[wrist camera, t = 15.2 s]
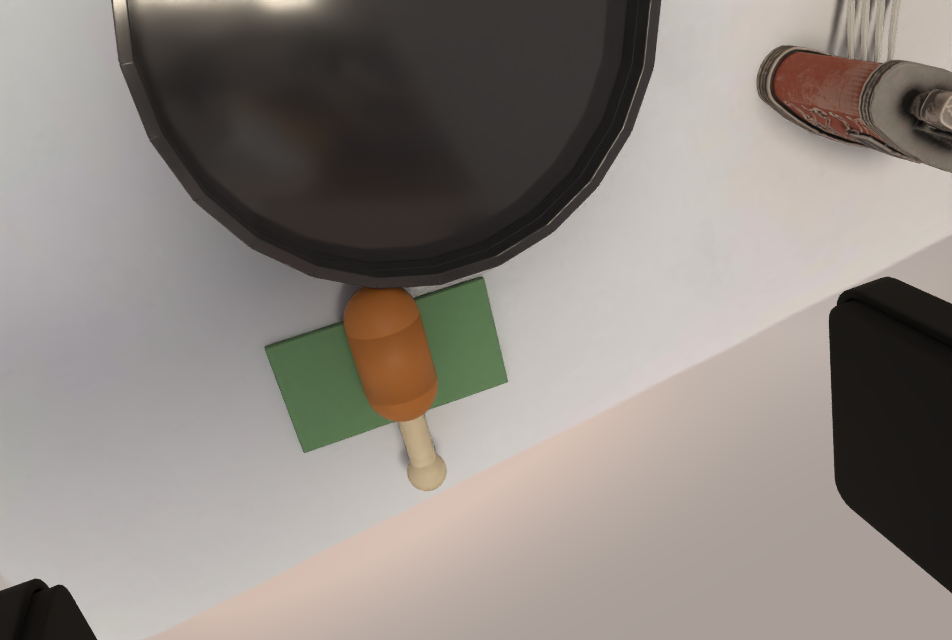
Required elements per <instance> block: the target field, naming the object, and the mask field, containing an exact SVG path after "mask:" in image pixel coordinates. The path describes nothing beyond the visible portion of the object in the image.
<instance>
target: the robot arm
mask: <svg viewBox="0 0 952 640" xmlns="http://www.w3.org/2000/svg"><path fill="white" fill-rule="evenodd" d="M829 339H830V365H831V390H832V418H833V445H834V470H835V482H836V486H837V489H838V491H839V493H840V495H841V497H842V499H843V500H844V501H845V503H846V504H847V505H848V506H849V507H850V508H851V509H852V510H854V511H855V512H856V513H857V514H858V515H859V516H860V517H862V518H863V519H864V520H865V521H867V522H868V523H869V524H870V525H871V526H873V527H874V528H875V529H876V530H877V531H878V532H880V533H881V534H882V535H883V536H884V537H886V538H887V539H888V540H889V541H890V542H892V543H893V544H894V545H895V546H896V547H898V548H899V549H900V550H901V551H902V552H904V553H905V554H906V555H907V556H908V557H909V558H911V559H912V560H913V561H914V562H915V563H916V564H918V565H919V566H920V567H921V568H922V569H924V570H925V571H926V572H927V573H929V574H930V575H931V576H932V577H933V578H934V579H936V580H937V581H938V582H939V583H940V584H941V585H943V586H944V587H945V588H946V589H947V590H949V591H950V592H951V593H952V304H951V303H949V302H946V301H944V300H942V299H940V298H938V297H935V296H933V295H931V294H929V293H926V292H924V291H922V290H920V289H917V288H915V287H913V286H911V285H909V284H906V283H904V282H902V281H900V280H897V279H895V278H891V277H884V278H880V279H877V280H874V281H871V282H868V283H866V284H863V285H860V286H857V287H854V288H852V289H849V290H846V291H844V292H843V293H842V294H841V295H840V296H839V298H838V301H837V306H835V307H834V308H833V309H832V310H831V312H830V314H829ZM0 640H97V638H96V637H95V635H94V633H93V632H92V630H91V628H90V626H89V625H88V623H87V621H86V619H85V618H84V616H83V614H82V612H81V611H80V609H79V607H78V606H77V604H76V602H75V600H74V599H73V597H72V595H71V594H70V592H69V591H68V589H67V588H66V587H64V586H63V585H56V586H54V587H51V588H49V587H48V586H47V584H46V583H44V582H43V581H42V580H41V579H32V580H30V581H27V582H24V583H21V584H18V585H16V586H13V587H10V588H7V589H4V590H1V591H0Z"/></svg>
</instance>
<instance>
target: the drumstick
mask: <svg viewBox="0 0 952 640" xmlns="http://www.w3.org/2000/svg"><path fill="white" fill-rule="evenodd" d="M344 329H345V333H346V336H347V339H348V343H349V346H350V349H351V352H352V355H353V358H354V361H355V364H356V367H357V371H358V374H359V377H360V380H361V383H362V386H363V389H364V392H365V395H366V398H367V400H368V402H369V404H370V406H371V407H372V408H373V410H374V411H375V412H377V413H378V414H379V415H380V416H382V417H384V418H386V419H388V420H391V421H396V422H398V423H399V427H400V430H401V433H402V436H403V440H404V443H405V446H406V449H407V453H408V456H409V459H410V462H409V464H408V468H407V474H408V478H409V481H410V482H411V484H412V485H413V486H414V487H416V488H417V489H419V490H422V491H431V490H434V489H436V488H438V487H439V486H440V485H441V484H442V483H443V482H444V480H445V477H446V472H447V471H446V465H445V462H444V460H443V459H442V458H441V457H440V456H439V455H438V454H436V453H435V450H434V447H433V443H432V440H431V436H430V433H429V429H428V426H427V422H426V419H425V415H424V413H425V412H426V411H427V410H429V408H430V407H431V406H432V404H433V402H434V400H435V398H436V395H437V390H438V379H437V374H436V370H435V367H434V363H433V359H432V356H431V352H430V348H429V345H428V341H427V338H426V334H425V330H424V327H423V323H422V319H421V316H420V312H419V309H418V306H417V304H416V302H415V300H414V299H413V297H412V296H411V295H410V294H409V293H408V292H407V291H406V290H404V289H403V288H387V289H373V288H368V287H362V288H361V289H359V290H358V291H357V292H356V293H354V295H353V296H352V297H351V298H350V300H349V301H348V303H347V306H346V308H345V312H344Z"/></svg>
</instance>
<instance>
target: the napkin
mask: <svg viewBox="0 0 952 640" xmlns="http://www.w3.org/2000/svg"><path fill="white" fill-rule="evenodd" d="M414 300H415V302H416V304H417V306H418V309H419V312H420V316H421V319H422V323H423V327H424V330H425V334H426V338H427V341H428V345H429V348H430V352H431V356H432V359H433V363H434V367H435V370H436V374H437V379H438V390H437V395H436V398H435V400H434V402H433V404H432V406H431V407H430V408H429V409H432V408H435V407H438V406H441V405H443V404H446V403H449V402H452V401H455V400H458V399H461V398H464V397H466V396H469V395H472V394H475V393H478V392H481V391H484V390H486V389H489V388H492V387H495V386H498V385H501V384H504V383H506V382H508V380H507V375H506V371H505V367H504V363H503V358H502V354H501V350H500V346H499V341H498V337H497V333H496V329H495V324H494V320H493V316H492V312H491V307H490V303H489V299H488V295H487V290H486V286H485V282H484V278H483V277H479V278H476V279H473V280H469V281H466V282H463V283H460V284H457V285H454V286H451V287H448V288H445V289H442V290H439V291H436V292H433V293H429V294H426V295H423V296H420V297H417V298H414ZM265 351H266V353H267V356H268V359H269V361H270V364H271V367H272V369H273V372H274V375H275V377H276V380H277V383H278V385H279V388H280V391H281V393H282V396H283V399H284V401H285V404H286V407H287V409H288V412H289V415H290V417H291V420H292V423H293V425H294V428H295V430H296V433H297V436H298V438H299V441H300V444H301V446H302V449H303V452H304V453H306V452H309V451H312V450H315V449H317V448H320V447H323V446H326V445H329V444H332V443H335V442H338V441H340V440H343V439H346V438H349V437H352V436H355V435H358V434H360V433H363V432H366V431H369V430H372V429H375V428H378V427H380V426H383V425H386V424H389V423H392V422H395V421H391V420H388V419H386V418H384V417H382V416H380V415H379V414H378V413H377V412H375V411H374V410H373V408H372V407H371V406H370V404H369V402H368V400H367V398H366V395H365V392H364V389H363V386H362V383H361V380H360V377H359V374H358V371H357V367H356V364H355V361H354V358H353V355H352V352H351V349H350V346H349V343H348V339H347V336H346V333H345V329H344V321H343V322H340V323H337V324H334V325H331V326H328V327H325V328H322V329H319V330H316V331H312V332H309V333H306V334H303V335H300V336H297V337H294V338H291V339H288V340H285V341H282V342H279V343H276V344H272V345H269V346H266V347H265Z"/></svg>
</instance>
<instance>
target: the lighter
mask: <svg viewBox="0 0 952 640" xmlns="http://www.w3.org/2000/svg"><path fill="white" fill-rule="evenodd" d="M757 88H758V92H759V95H760V97H761V98H762V99H763V101H765V102H766V103H767V104H768V105H770V106H771V107H772V108H773V109H775V110H776V111H777V112H778V113H780V114H781V115H782V116H783V117H785V118H786V119H788V120H790V121H791V122H793V123H795V124H797V125H798V126H800V127H802V128H804V129H805V130H807V131H809V132H812V133H814V134H817V135H820V136H823V137H826V138H829V139H832V140H835V141H838V142H842V143H846V144H850V145H856V146H861V147H867V148H871V149H874V150H877V151H880V152H883V153H886V154H889V155H892V156H894V157H898V158H901V159H905V160H908V161H912V162H916V163H919V164H920V163H924V164H927V165H929V166H932V167H935V168H938V169H941V170H944V171H947V172H951V173H952V72H950V71H947V70H945V69H942V68H937V67H933V66H929V65H924V64H920V63H915V62H910V61H902V60H889V61H887V62H885V63H877V62H869V61H862V60H855V59H848V58H841V57H837V56H835V55H832V54H830V53H826V52H821V51H817V50H812V49H808V48H803V47H797V46H781V47H779V48H777V49H775V50H773V51H772V52H771V53H770V54H769V55H768V56H767V57H766V59H765V60H764V62H763V64H762V65H761V68H760V71H759V74H758V79H757Z"/></svg>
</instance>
